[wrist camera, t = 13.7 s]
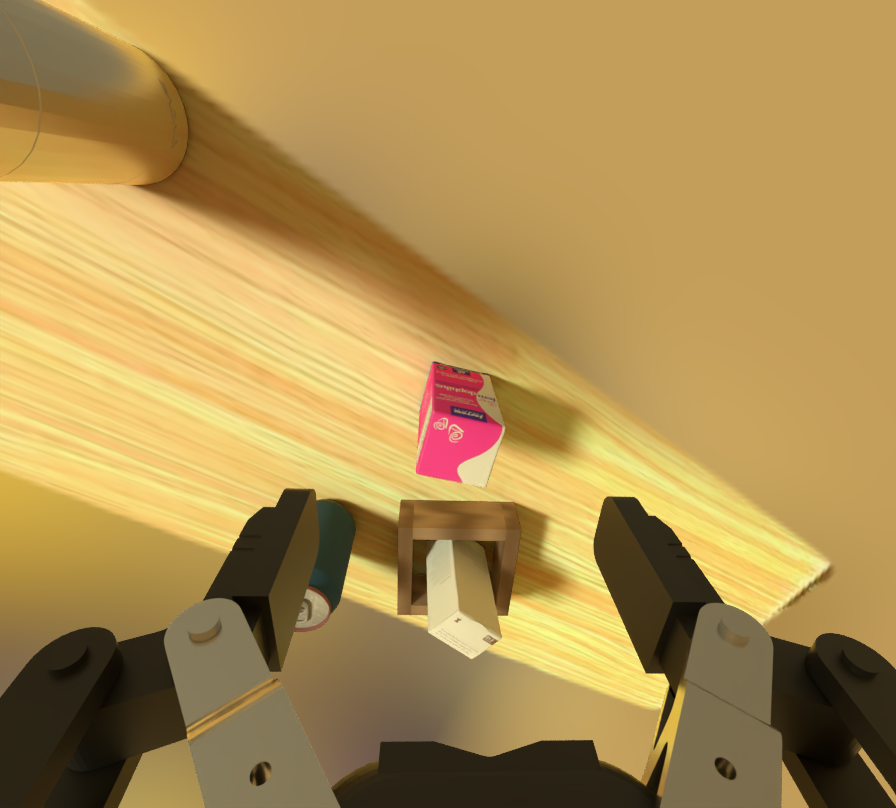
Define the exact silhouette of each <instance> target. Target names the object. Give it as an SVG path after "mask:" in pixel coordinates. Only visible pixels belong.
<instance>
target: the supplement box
mask: <svg viewBox="0 0 896 808" xmlns="http://www.w3.org/2000/svg"><path fill="white" fill-rule="evenodd" d="M505 429H506V427H505V423H504V420H503V417H502V414H501V411H500V408H499V405H498V401H497V398H496V395H495V392H494V389H493V386H492V382H491V379H490V376H489V375H488V374H484V373H478V372H473V371H469V370H465V369H461V368H456V367H452V366H448V365H444V364H441V363H437V362H433V363H432V366H431V370H430V374H429V378H428V381H427V385H426V389H425V393H424V396H423V400H422V404H421V408H420V416H419V432H418V446H417V462H416V473H417V474H420V475H424V476H429V477H434V478H439V479H443V480H448V481H454V482H458V483H463V484H469V485H474V486H479V487H483V488H485V487H486V486H487V483H488V480H489V477H490V474H491V471H492V467H493V464H494V461H495V458H496V455H497V452H498V449H499V446H500V443H501V440H502V438H503V435H504V432H505Z"/></svg>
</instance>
